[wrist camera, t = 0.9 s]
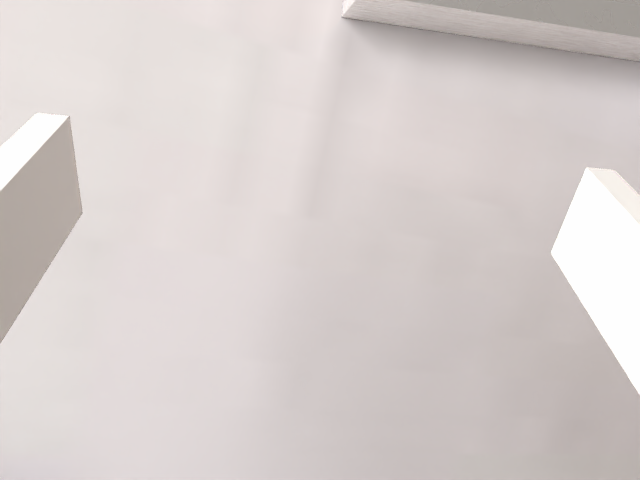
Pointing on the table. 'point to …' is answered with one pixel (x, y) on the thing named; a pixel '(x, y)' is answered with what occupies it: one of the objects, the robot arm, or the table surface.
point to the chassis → (519, 21)
